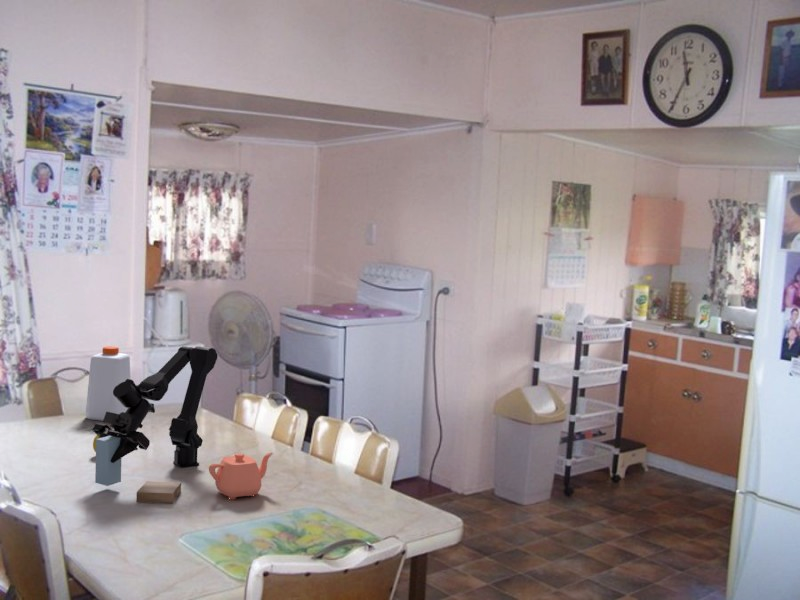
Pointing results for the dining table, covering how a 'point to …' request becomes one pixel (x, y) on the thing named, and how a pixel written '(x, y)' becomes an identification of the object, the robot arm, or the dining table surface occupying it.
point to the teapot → (239, 475)
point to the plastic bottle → (106, 382)
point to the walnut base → (158, 492)
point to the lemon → (95, 442)
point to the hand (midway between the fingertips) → (104, 460)
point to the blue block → (107, 461)
